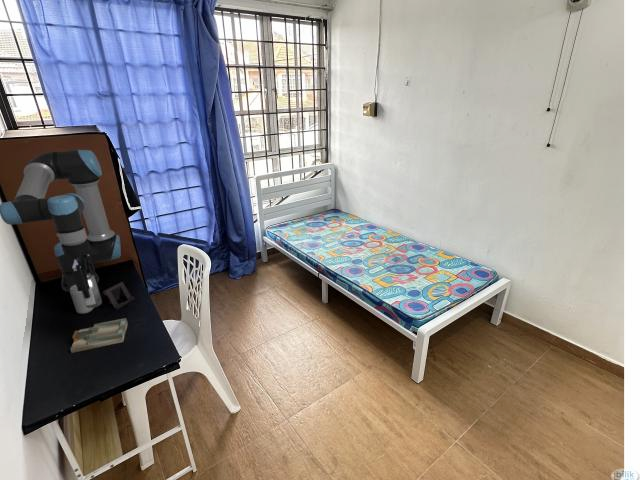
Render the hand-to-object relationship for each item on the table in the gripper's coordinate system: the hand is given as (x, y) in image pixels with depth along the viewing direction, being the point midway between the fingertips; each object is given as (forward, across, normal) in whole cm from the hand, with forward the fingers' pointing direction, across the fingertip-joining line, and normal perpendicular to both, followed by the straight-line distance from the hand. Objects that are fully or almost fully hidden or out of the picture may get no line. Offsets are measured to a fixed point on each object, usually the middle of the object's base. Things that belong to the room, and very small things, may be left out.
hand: (93, 300), depth 121 cm
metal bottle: (+2, 0, 0) cm, 2 cm away
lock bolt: (+15, 0, -7) cm, 17 cm away
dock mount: (+17, 0, -2) cm, 17 cm away
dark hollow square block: (+17, -24, +1) cm, 30 cm away
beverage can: (+17, -23, -12) cm, 31 cm away
